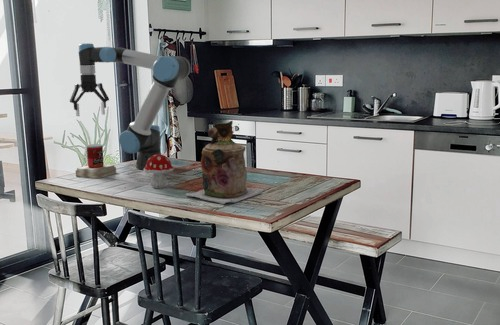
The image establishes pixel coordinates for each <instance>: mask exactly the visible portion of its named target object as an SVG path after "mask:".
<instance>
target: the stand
mask: <svg viewBox="0 0 500 325" xmlns="http://www.w3.org/2000/svg"><path fill="white" fill-rule="evenodd" d="M116 173H117V167H116V166H115V165H114V164H105V163H104V165H103V167H100V168H89V167H88V164H87V165H84V166H80V167H77V168H76V170H75V176H76V177H81V178H90V179H92V178H93V179H101V178H105V177H107V176H110V175H114V174H116Z"/></svg>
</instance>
